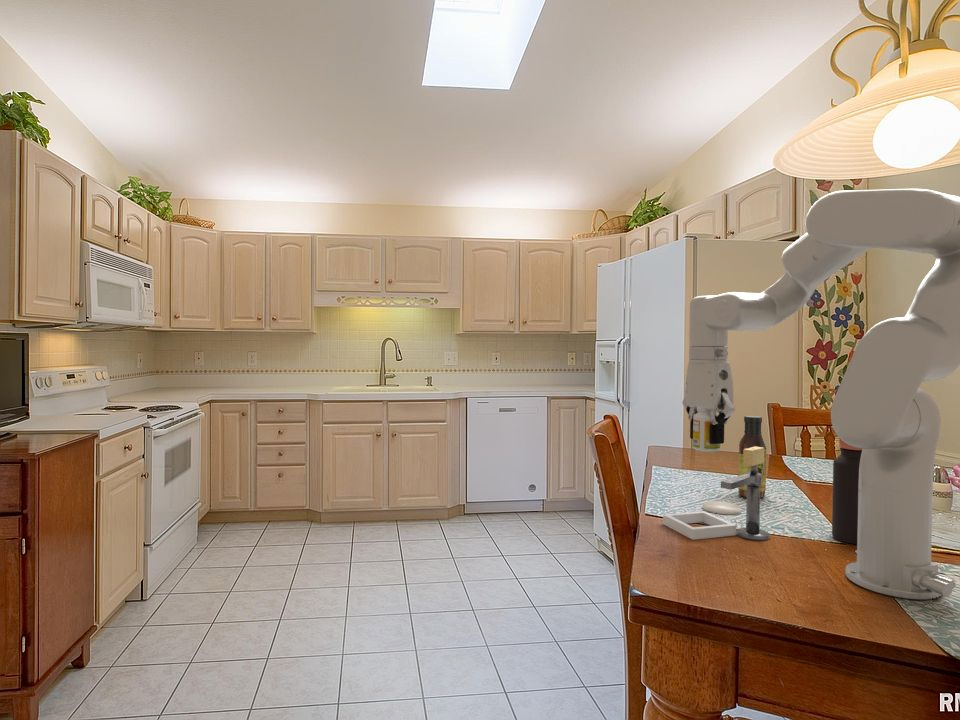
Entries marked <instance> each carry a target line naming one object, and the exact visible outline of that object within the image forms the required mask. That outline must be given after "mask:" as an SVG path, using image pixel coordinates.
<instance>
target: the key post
mask: <svg viewBox="0 0 960 720" xmlns="http://www.w3.org/2000/svg"><path fill="white" fill-rule="evenodd" d="M745 502H746V504H745V506H746V510H745V511H746V514H745V517H746V518H745V524H746V525H745V527H740V528H736V535H735V536H738V537H739V538H742V539H744V540H750V541H757V542H759V541H760V542H762V541H763V542H764V541H768V540H770V537H771V535H770V533H769V532H768V531H765V530H762V529H760V518H761V498H760V486H753V485H748V484H747V497H746V501H745Z"/></svg>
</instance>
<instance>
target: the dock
mask: <svg viewBox="0 0 960 720" xmlns="http://www.w3.org/2000/svg"><path fill="white" fill-rule="evenodd" d="M697 523H699V524H700V523H704V524H707V525H704V526H694V527H693V526H692V525H690V524H697ZM662 524H663V525H664V526H666V527H667V528H669V529H671V530H673V531H675V532H677V533H679V534H681V535H683V536H684V537H686V538H688V539H690V540H692V541H693V540H703V539H704V540H705V539H714V538H722V537H724V538H725V537H732V536H737V535H736V530H737V524H735V523H733V522H730V521H728V520H725V519H723V518H720V517H719V516H716V515H714V514H713V513H712V514H711V512H708V511H706V510H701V511H691V512H689V511H688V512H680V513H677V512H676V513H669V514H668V513H667V514H662Z"/></svg>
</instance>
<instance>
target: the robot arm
mask: <svg viewBox="0 0 960 720" xmlns="http://www.w3.org/2000/svg"><path fill="white" fill-rule="evenodd" d="M805 231H806V232H805V234H803V235H802V236H801V237H799V238H798V239H796V240H795V241H794V242H793V243H791V244H790V245H789V246H787V247H786V248H785V249H784V250H783V252H782V253H781V254H782V255H781V261H782V266H783V268H784V269H785V273H784V274H783V275H782V276H781V277H780V278H779V279H778V280H777V281H776V282H774V283H773V284H772V285H770V286H769V287H768V288H765V289H764V290H763V291H762V292H760V293H759V292H758V293H757V292H740V291H739V292H738V291H731V292H730V291H729V292H725V293H720V294H718V295H717V294H715V295H699V296H695V297H693V298H692V299H691V300H690V301H689V322H688V323H689V326H688V327H689V328H688V331H689V333H688V336H689V337H688V341H689V342H688V344H689V345H688V364H687V368H686V375H685V388H684V392H685V393H684V394H685V395H684V398H683V400H682V405H683V407H684V408H685V411H686V413H687V415H688V417H687V418H688V420H689V438H690V439H691V440H693V417H694V415H695V414H696V413H698V410H697V407H698V406H700V407H701V408H703V409H706V410H709V411H710V416H711V421H712V424H710V432H709V442H710V444H720V445H721V444H724V443H725V425H727V422H728V420H729V419H730V418H731V416H732V415H733V413H735V411H736V408H735V406H734V385H733V384H734V382H733V373H732V367H731V363H730V361H729V362H728V355H729V352H728V339H729V338H728V335H729V333H728V332H729V331H737V332H738V331H741V332H742V331H753V332H755V331H757V332H758V331H765V330H768V329H771V328H774V327H775V326H777V325H778V324H780V323H782V322H783V321H785V320H787V319H788V318H789V317H791V316H792V315H795V313H797V312H798V311H799V310H800V309H802V308H803V307H804V306H805V305H806V304H807V303H808V301H809V300H810V298H811V297H812V296H813V295H814V293H815V290H816V289H817V287H818V286H819V285H820V284H821V283H823V282H824V281H826V280H827V279H829V278H831V276H833V275H834V274H836V273H837V272H839V271H840V270H842V269H843V268H845V267H847V265H849V264H851V263H852V262H853V261H855V260H857V259H858V258H860V257H861V256H862V255H864V254H865V253H867V252H869V251H870V250H871V249H883V250H884V249H885V250H886V249H887V250H895V251H896V250H897V251H906V252H913V253H919V254H920V253H921V254H926V255H927V254H929V255H932V256H933V257H934V258H935V262H934V265H933V267H932V268H931V269H930V270H929V272H928V273H927V274H926V276H925V277H924V278H923V280H922V281H921V283H920V285H918V288H917V290H916V293H915V295H914V297H913V300H912V303H910V305H909V308H908V310H907V311H906V314H905V315H904V316H901V317H900V316H899V317H893V318H888V319H884V320H882V321H880V322H878V323H876V324H874V325H873V326H872V327H871V328H869V329H868V330H867V331H866V333H865V334H864V335H863V336H862V337H861V339H860V340H859V341H858V343H857V346H856V347H855V350H854V352H853V354H852V357H851V358H850V360H849V363H848V365H847V368H846V370H845V372H844V374H843V377H842V380H841V382H840V384H839V387H838V388H837V391H836V393H835V396H834V398H833V401H832V404H831V408H830V409H831V410H830V421H831V426H832V429H833V430H834V433H835V434H836V436H837V437H838V438H840V439H841V440H843V441H844V442H845V443H847V444H848V445H850V446H853V447H856V448H860V449H863V450H862V454H861V458H860V465H859V483H858V533H857V545H856V561H854V562H851V563H848V564H847V565H846V566H845V576H846V578H847V579H848V580H850V582H853V583H854V584H856V585H857V586H859V587H862V588H864V589H866V590H869V591H872V592H876V593H878V594H883V595H886V596H890V597H895V598H901V599H909V600H933V599H936V597H937V598H939V596H940V597H941V596H943V597H950V596H951V595H952V593H953V590H954V589H955V587H956V582H955V581H954V579H952V578H951V579H950V578H948V577H945V576H941V575H940V574H939V564H938V563H935V562H932V540H933V539H932V538H933V537H932V534H933V533H932V532H933V529H932V528H933V526H932V525H933V491H934V472H935V471H934V469H935V458H936V450H937V446H938V441H939V436H940V431H941V423H942V422H941V413H940V409H939V406H938V404H937V402H936V401H935V400H934V398H933V397H932V396H931V395H930V394H929V393H928V392H927V391H925V390H924V389H922V388H920V387H921V385H922V383H923V382H925V383H926V382H934V381H939V380H942V379H945V378H947V377H948V376H950V375H952V374H953V373H955V371H956V370H957V369H959V366H960V196H957V195H954V194H953V195H952V194H949V193H948V194H947V193H943V192H940V191H936V190H932V189H925V188H896V189H895V188H892V189H891V188H890V189H889V188H888V189H861V190H857V189H856V190H855V189H854V190H852V189H851V190H849V189H848V190H836V191H834V192H830V193H828V194H825V195H823V196H822V197H820V198H819V199H818V200H816V201H815V202H814V203H813V205H812V206H811V207H810V209H809V210H808V211H807V214H806V216H805ZM717 413H718V416H717V415H716V414H717ZM932 598H933V599H932Z"/></svg>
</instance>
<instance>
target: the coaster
mask: <svg viewBox="0 0 960 720" xmlns="http://www.w3.org/2000/svg"><path fill="white" fill-rule="evenodd" d="M702 509H703V511H705V512H708V511H709V512H708V513H712V514H716V513H717V514H718V515H725V514H733V515H737V513H738V514H740V513H741V511H742V508H741V506H740V505H738V504H735V503H733V502H726V501H716V500H713V501H712V500H710V501H705V502H703V503H702Z"/></svg>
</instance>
